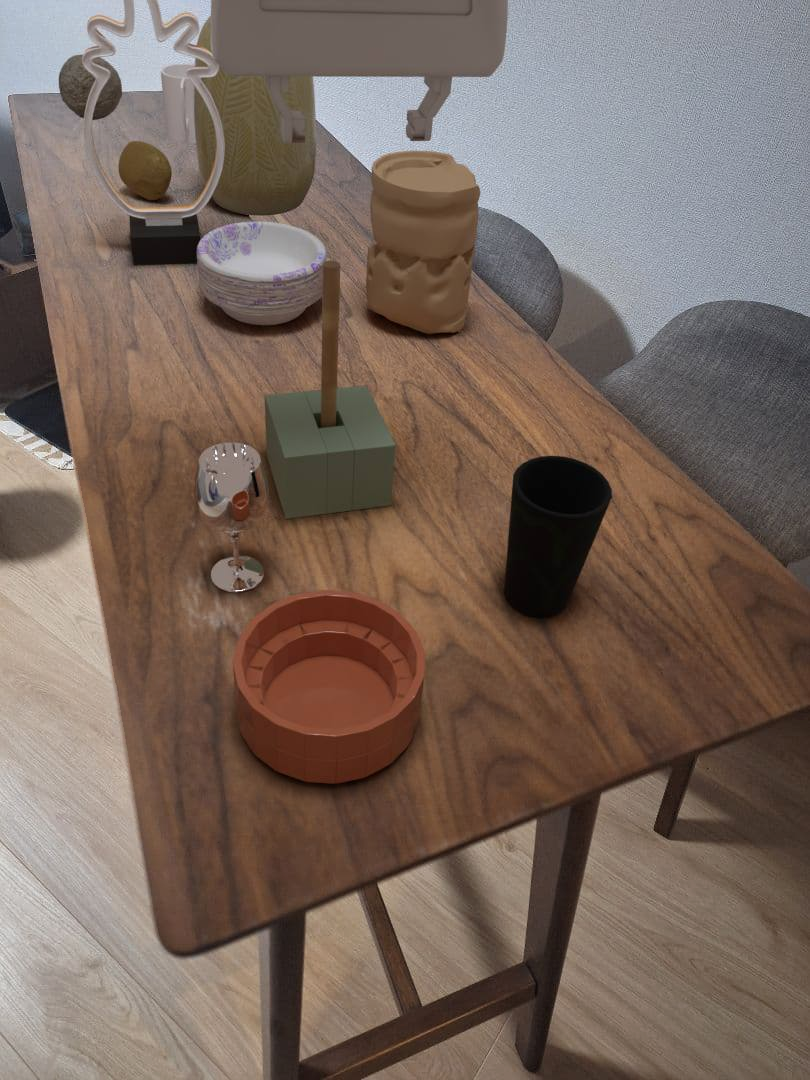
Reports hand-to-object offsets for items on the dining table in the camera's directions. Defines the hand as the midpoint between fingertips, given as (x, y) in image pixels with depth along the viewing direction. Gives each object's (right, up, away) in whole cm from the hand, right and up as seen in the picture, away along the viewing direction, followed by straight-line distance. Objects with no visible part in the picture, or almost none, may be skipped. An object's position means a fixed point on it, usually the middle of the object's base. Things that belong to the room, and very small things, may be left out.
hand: (356, 139), depth 67 cm
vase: (-19, +22, +71) cm, 77 cm away
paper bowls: (-14, -1, +46) cm, 48 cm away
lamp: (-29, +10, +56) cm, 63 cm away
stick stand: (-4, -24, +21) cm, 32 cm away
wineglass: (-11, -32, +11) cm, 36 cm away
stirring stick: (-4, -24, +21) cm, 32 cm away
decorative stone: (-50, +44, +92) cm, 114 cm away
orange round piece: (-2, -42, +1) cm, 42 cm away
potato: (-35, +21, +68) cm, 79 cm away
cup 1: (-33, +39, +88) cm, 102 cm away
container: (+5, -2, +47) cm, 47 cm away
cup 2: (+15, -34, +11) cm, 39 cm away
